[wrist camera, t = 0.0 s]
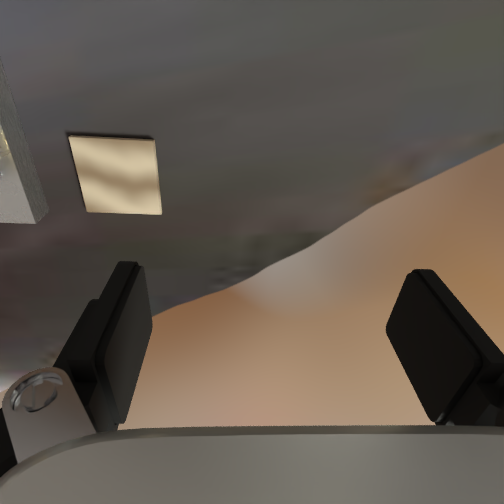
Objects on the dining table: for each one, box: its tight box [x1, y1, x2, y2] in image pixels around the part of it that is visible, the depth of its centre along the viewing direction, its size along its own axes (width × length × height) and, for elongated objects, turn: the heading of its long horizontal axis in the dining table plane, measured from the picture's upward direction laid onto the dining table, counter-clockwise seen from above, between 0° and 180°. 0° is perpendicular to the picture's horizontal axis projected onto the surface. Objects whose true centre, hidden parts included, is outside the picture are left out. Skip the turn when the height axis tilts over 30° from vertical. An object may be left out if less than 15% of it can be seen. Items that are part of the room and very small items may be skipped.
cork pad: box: [69, 135, 162, 215], centre depth 46 cm, size 11×11×1 cm
